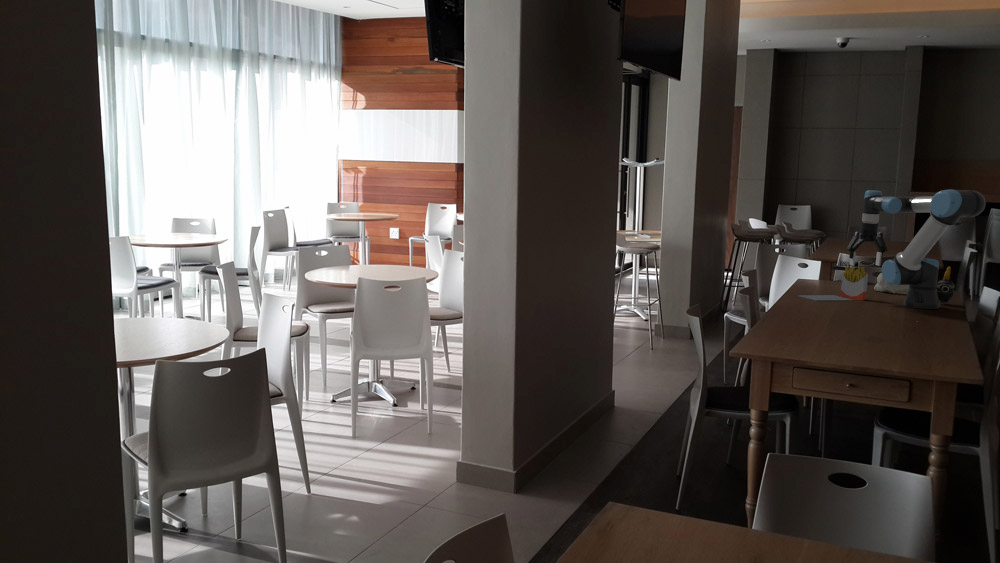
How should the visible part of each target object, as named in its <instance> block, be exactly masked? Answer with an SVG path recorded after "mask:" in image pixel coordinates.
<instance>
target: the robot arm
mask: <svg viewBox="0 0 1000 563" xmlns="http://www.w3.org/2000/svg"><path fill="white" fill-rule="evenodd" d="M863 197H864V198H863V207H862V208H863V209H862V216H861V221H862V222H861V225H860V231H854V234H853V237H852V238H851V240H850V241H849V243H848V245H847V246H846V249H845V250H846V251H848V252H849V255H848V257H849V264H850V266H854V265H855V262H856V255H857V252H856V251H857V249H858V248H859V247H860V246H861V245H863V243H865V242H866V243H868V242H871V243H873V245H874V246H875V248H876V249H877V251H876V259H875V266H878V267H880V266H881V263H882V259H883V256H884V253H885V252H888V248H887V246H886V242H885V240H884V233H883V232H881V231H878V230H879V221H880V214H881V213H887V214H897V213H898V214H899V213H900V214H901V213H905V214H908V213H909V214H916V213H919V214H920V213H922V214H923V213H924V214H925V213H928V214H929V213H930V216H929V217H928V218H927V220H926V221H925V223H924V224H923V225H922V227H921V228H920V229H919V230H918V232H917V233H916V234H915V236H914V237H913V238H912V239H911V241H910V242H909V244H908V245H907V246H906V248H905V249H904V250H903V251H900V252H898V253H896V255H895V256H894V258H893V259H887V260H885V261H884V262H883V263H882V266H881V273H882V276H883V278H884V280H885V281H886V282H887V283H888V284H890V285H909V290H908V292H906V296H905V298H904V300H903V306H904V307H908V308H914V309H922V310H923V309H924V310H937V309H940V306H941V304H940V303H941V302H939V299H938V295H937V283H938V282H939V281H938V280H939V279H938V278H939V271H940V263H939V260H937V259H934V258H927V257H926V256H927V255H928V253H929V252H930V251H931V249H932V248H933V247H934V246H935V245H936V243H937V242H938V241H939V239H940V238H941V236H943V234H944V233H945V232H946V231H947V229H948V228H949V227H953V226H955V225H957V223H958V222H959V221H960V219H961V218H974V217H977V216H979V215H980V214H981V213H982V212H983V211H984V210H985V208H986V198H985V196H984V195H983V194H982V193H981V192H979V191H977V190H970V189H965V190H964V189H951V188H950V189H943V190H940V191H937V192H936V193H935V194H934V195H933V196H931V195H930V196H926V195H925V196H887V195H883V192H882V191H881V190H872V189H871V190H866V191H865V193H864V196H863ZM880 212H881V213H880ZM876 237H877V238H876Z"/></svg>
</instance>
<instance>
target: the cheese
mask: <svg viewBox="0 0 1000 563" xmlns="http://www.w3.org/2000/svg"><path fill="white" fill-rule="evenodd" d="M876 281H877V283H876V284H875V285H874V287H873V289H874V291H877V292H880V293H892V294H894V295H895V294H897V293H908V290H909V285H890V284H888V283H887V282H886V281H885V280H884V278H883V276H882V272H880V273H879V274H878V275H877V277H876Z"/></svg>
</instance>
